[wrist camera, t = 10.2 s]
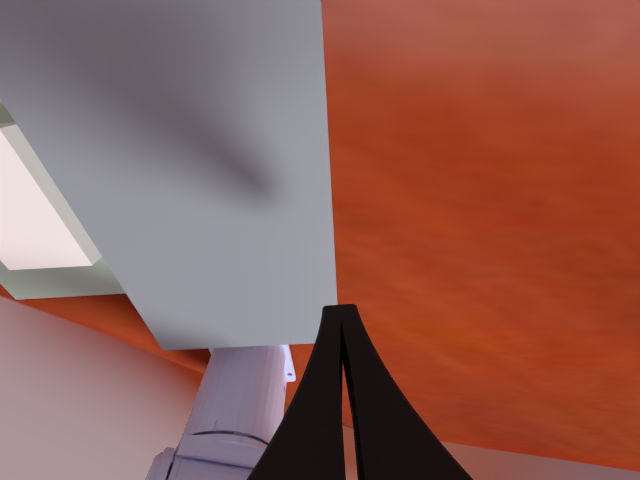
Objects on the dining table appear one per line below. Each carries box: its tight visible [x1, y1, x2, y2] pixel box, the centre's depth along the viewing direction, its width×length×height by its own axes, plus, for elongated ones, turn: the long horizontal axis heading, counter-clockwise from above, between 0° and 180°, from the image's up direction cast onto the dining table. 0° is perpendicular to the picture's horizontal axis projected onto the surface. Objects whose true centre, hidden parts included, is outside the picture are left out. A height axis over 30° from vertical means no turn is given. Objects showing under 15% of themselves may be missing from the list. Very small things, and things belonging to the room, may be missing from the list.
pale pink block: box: [0, 122, 102, 270], centre depth 17 cm, size 9×6×2 cm, turn 4°
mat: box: [0, 99, 125, 300], centre depth 18 cm, size 20×13×1 cm, turn 4°
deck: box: [0, 0, 337, 351], centre depth 17 cm, size 24×14×4 cm, turn 4°
